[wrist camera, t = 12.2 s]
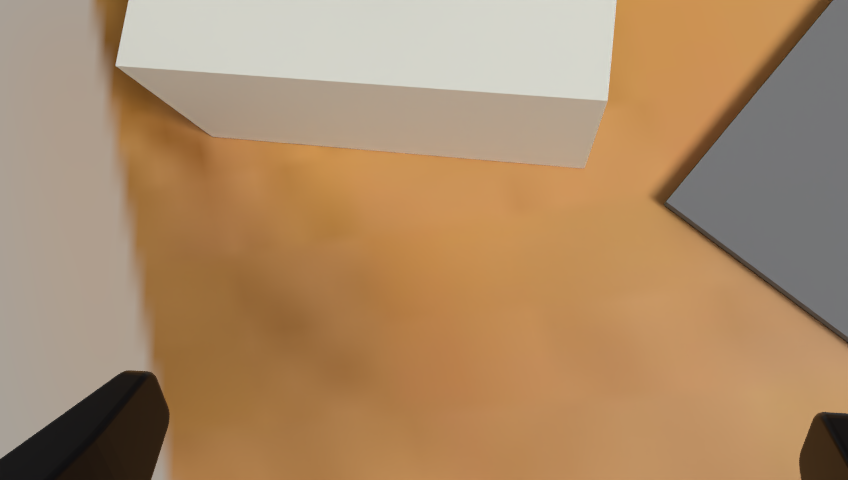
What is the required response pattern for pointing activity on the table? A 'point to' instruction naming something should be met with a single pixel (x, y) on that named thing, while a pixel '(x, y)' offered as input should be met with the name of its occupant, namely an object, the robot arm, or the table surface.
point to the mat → (786, 177)
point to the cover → (383, 72)
